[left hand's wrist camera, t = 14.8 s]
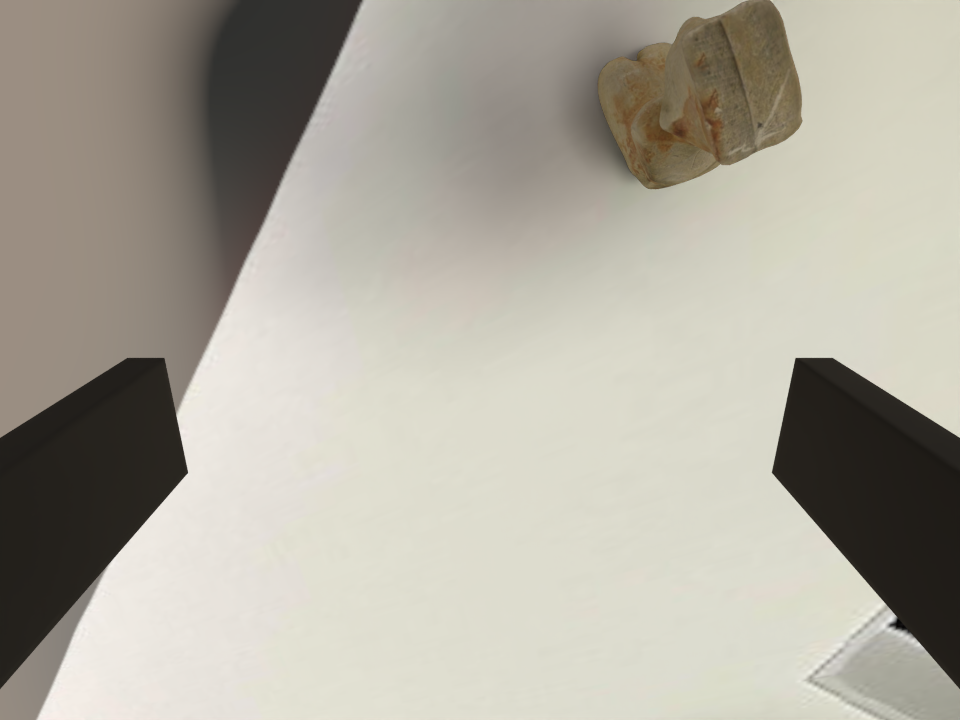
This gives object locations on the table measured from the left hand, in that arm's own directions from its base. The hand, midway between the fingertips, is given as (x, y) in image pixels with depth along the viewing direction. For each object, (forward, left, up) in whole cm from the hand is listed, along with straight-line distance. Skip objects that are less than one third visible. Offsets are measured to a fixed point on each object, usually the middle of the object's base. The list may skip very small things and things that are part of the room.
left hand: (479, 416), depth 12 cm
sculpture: (-11, +5, -26) cm, 29 cm away
